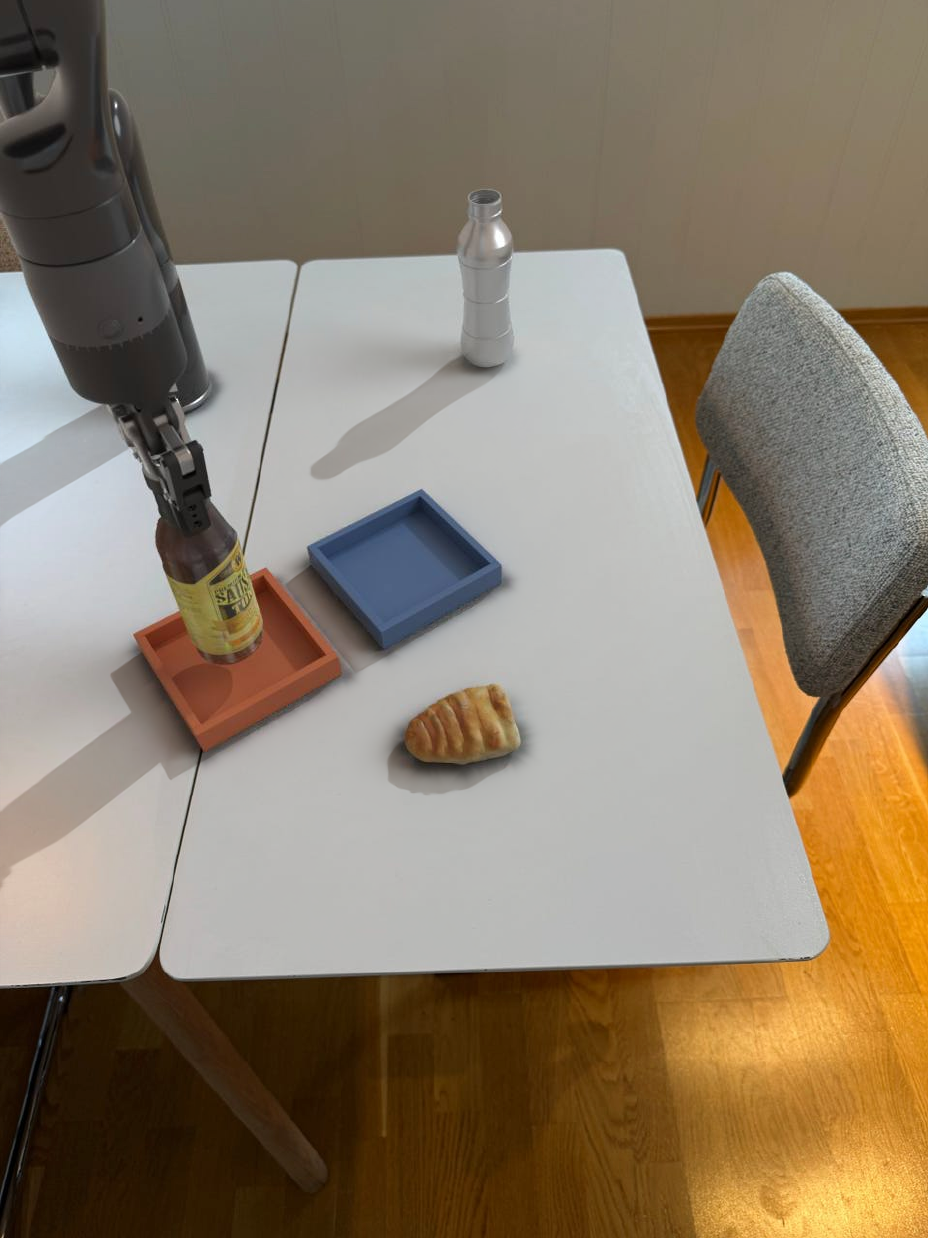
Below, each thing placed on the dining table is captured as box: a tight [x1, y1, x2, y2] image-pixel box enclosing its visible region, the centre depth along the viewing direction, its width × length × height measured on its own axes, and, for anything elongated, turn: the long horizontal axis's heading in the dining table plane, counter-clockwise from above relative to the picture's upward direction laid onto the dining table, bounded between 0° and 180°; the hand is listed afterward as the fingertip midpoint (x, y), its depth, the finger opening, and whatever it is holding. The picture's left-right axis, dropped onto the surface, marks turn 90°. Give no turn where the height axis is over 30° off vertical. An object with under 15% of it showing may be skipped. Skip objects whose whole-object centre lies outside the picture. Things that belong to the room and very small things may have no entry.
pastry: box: [404, 683, 522, 766], centre depth 74 cm, size 9×7×4 cm
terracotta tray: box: [132, 566, 343, 753], centre depth 81 cm, size 14×14×3 cm
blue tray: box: [306, 488, 503, 651], centre depth 87 cm, size 14×14×3 cm
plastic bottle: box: [455, 188, 515, 368], centre depth 103 cm, size 6×7×20 cm
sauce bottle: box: [141, 452, 263, 665], centre depth 72 cm, size 6×6×20 cm
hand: (183, 512), depth 68 cm, fingers closed on sauce bottle, 4 cm apart
